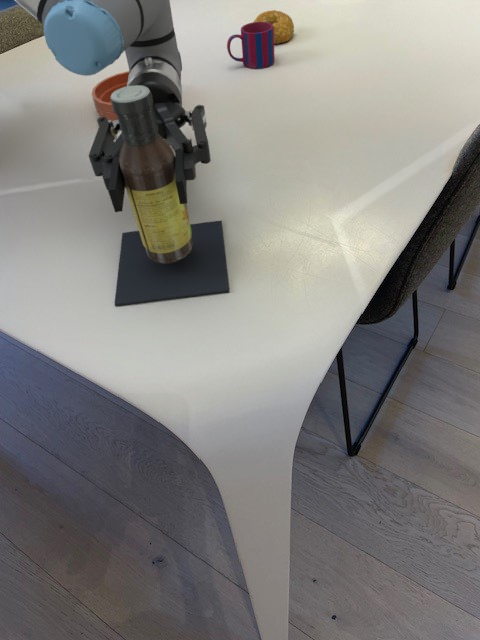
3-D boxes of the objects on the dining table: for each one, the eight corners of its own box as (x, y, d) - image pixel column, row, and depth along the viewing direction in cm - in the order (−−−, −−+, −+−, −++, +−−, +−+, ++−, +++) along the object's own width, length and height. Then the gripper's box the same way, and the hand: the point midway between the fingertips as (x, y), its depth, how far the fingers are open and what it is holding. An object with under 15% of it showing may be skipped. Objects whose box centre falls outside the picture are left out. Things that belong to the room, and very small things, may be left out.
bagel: (239, 41, 114) (237, 18, 111) (273, 27, 119) (272, 4, 115) (268, 51, 109) (267, 27, 106) (303, 36, 113) (303, 12, 110)
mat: (115, 306, 60) (114, 304, 60) (123, 234, 69) (122, 232, 69) (229, 292, 60) (229, 289, 59) (221, 222, 69) (221, 220, 69)
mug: (278, 65, 103) (277, 29, 98) (232, 74, 103) (229, 38, 97) (269, 54, 108) (268, 19, 103) (225, 62, 107) (221, 27, 102)
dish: (94, 130, 91) (87, 109, 88) (102, 95, 101) (96, 75, 98) (175, 120, 91) (171, 98, 88) (175, 86, 101) (171, 65, 98)
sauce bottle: (204, 247, 63) (177, 89, 48) (167, 273, 60) (126, 114, 45) (171, 227, 66) (137, 74, 51) (134, 251, 63) (87, 96, 48)
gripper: (74, 79, 64) (42, 176, 48) (221, 61, 64) (236, 152, 48) (92, 134, 69) (68, 236, 54) (227, 117, 69) (242, 215, 54)
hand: (148, 196), depth 51 cm, fingers closed on sauce bottle, 6 cm apart
